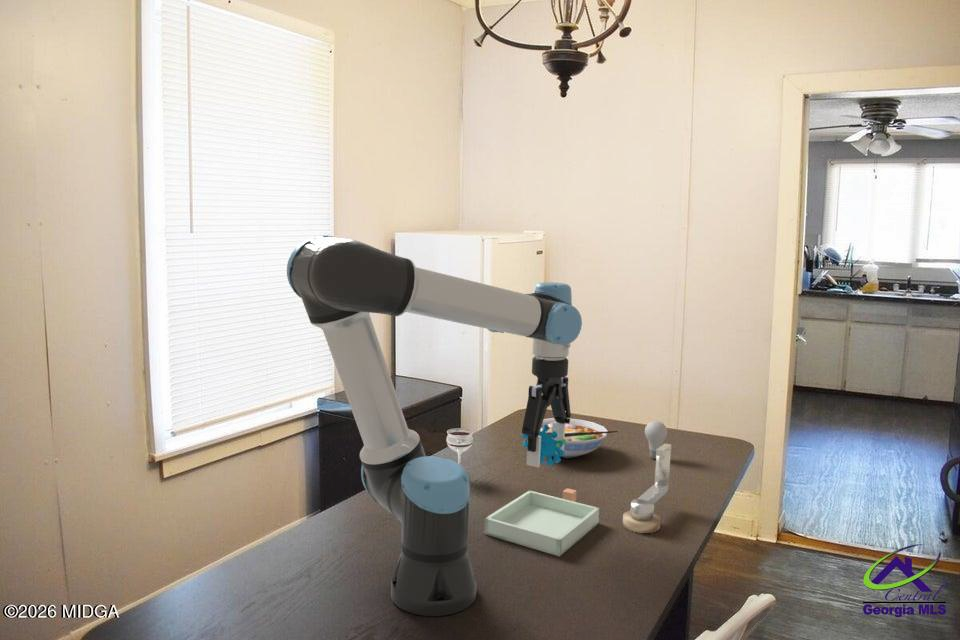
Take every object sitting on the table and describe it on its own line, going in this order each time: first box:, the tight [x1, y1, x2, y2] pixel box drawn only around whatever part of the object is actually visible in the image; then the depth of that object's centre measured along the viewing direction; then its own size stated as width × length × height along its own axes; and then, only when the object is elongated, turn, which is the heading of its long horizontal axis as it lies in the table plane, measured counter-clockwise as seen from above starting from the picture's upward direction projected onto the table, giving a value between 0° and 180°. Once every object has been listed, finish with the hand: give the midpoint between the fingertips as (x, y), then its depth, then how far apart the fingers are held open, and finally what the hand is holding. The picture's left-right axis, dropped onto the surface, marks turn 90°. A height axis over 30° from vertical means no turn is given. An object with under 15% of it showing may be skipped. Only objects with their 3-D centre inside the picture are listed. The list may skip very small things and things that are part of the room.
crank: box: [629, 442, 672, 521], centre depth 166 cm, size 18×5×12 cm, turn 148°
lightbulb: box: [644, 420, 668, 460], centre depth 206 cm, size 6×6×11 cm
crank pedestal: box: [622, 510, 661, 534], centre depth 161 cm, size 8×8×2 cm
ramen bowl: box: [540, 417, 618, 459], centre depth 209 cm, size 25×23×8 cm
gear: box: [521, 425, 566, 467], centre depth 158 cm, size 11×6×10 cm
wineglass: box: [446, 427, 474, 465], centre depth 187 cm, size 7×7×12 cm
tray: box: [483, 490, 600, 557], centre depth 159 cm, size 20×18×4 cm
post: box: [561, 487, 577, 502], centre depth 171 cm, size 2×2×4 cm
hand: (545, 458), depth 157 cm, fingers closed on gear, 11 cm apart
